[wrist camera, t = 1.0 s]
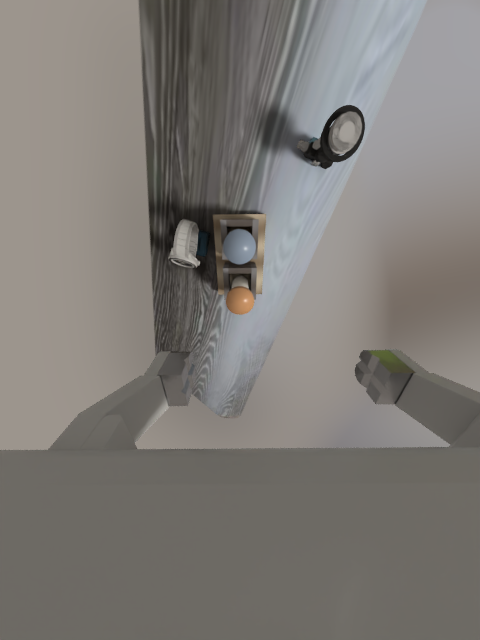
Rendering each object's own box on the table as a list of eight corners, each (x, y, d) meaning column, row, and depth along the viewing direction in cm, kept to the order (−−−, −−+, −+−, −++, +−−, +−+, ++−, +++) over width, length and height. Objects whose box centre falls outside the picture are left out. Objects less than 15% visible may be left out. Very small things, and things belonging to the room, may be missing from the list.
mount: (214, 214, 36) (208, 214, 30) (264, 214, 36) (269, 213, 30) (219, 291, 44) (216, 303, 38) (260, 290, 44) (264, 303, 38)
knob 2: (228, 272, 35) (225, 288, 27) (251, 272, 35) (254, 288, 27) (229, 293, 38) (226, 314, 30) (250, 293, 38) (253, 314, 30)
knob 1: (226, 226, 31) (222, 229, 23) (252, 226, 31) (256, 229, 23) (227, 253, 34) (224, 264, 26) (251, 252, 34) (255, 264, 26)
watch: (180, 256, 40) (161, 269, 30) (184, 215, 36) (164, 215, 26) (205, 263, 41) (195, 277, 31) (212, 223, 37) (202, 226, 27)
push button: (289, 164, 32) (308, 144, 23) (304, 124, 30) (331, 85, 21) (322, 179, 33) (352, 166, 24) (339, 142, 31) (379, 112, 22)
